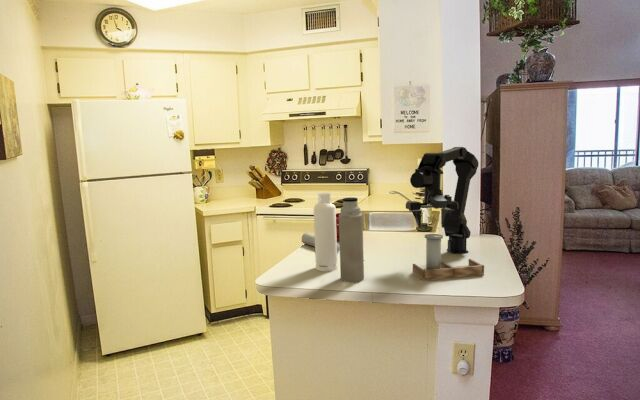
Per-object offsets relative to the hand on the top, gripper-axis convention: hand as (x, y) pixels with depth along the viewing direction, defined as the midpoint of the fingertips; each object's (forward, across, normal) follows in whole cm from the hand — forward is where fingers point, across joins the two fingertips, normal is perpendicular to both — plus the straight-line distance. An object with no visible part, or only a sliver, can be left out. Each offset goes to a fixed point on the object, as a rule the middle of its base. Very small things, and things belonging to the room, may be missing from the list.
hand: (431, 227), depth 167 cm
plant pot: (+13, -23, +47) cm, 54 cm away
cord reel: (+13, -6, -15) cm, 21 cm away
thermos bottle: (+15, -33, -12) cm, 38 cm away
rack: (+14, 0, -15) cm, 20 cm away
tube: (+14, -36, +33) cm, 51 cm away
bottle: (+15, -39, +3) cm, 42 cm away
